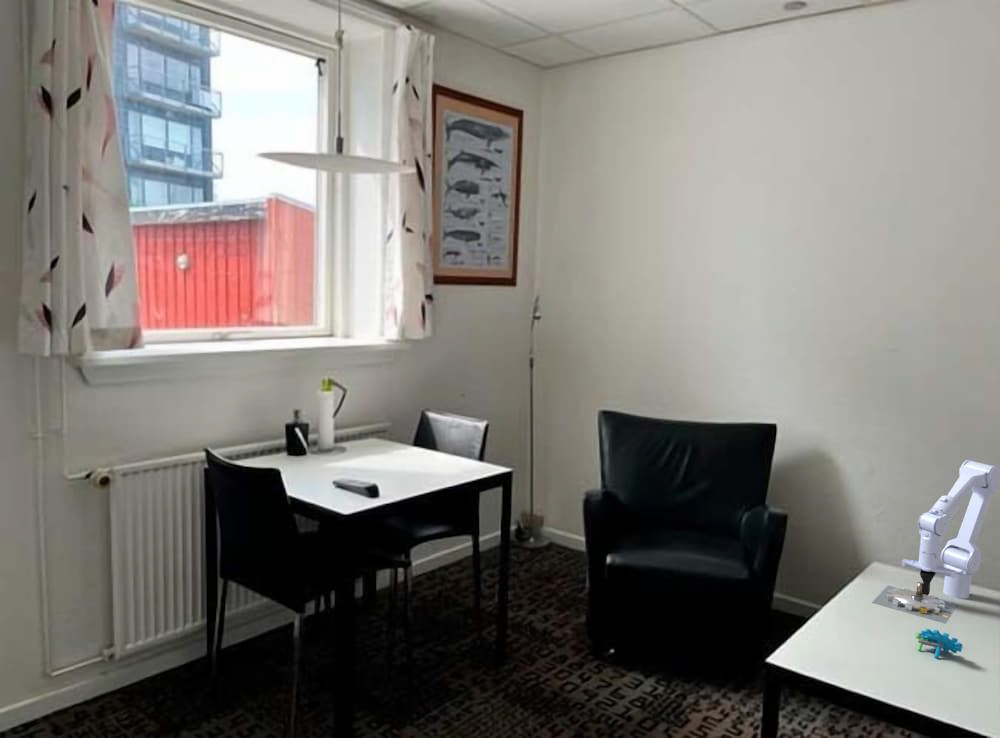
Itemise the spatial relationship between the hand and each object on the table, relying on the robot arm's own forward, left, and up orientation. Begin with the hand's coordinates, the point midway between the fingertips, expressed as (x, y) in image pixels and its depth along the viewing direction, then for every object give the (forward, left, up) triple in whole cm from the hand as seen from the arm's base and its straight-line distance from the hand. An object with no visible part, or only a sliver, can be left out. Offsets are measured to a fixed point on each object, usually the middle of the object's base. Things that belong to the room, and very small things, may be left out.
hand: (925, 593), depth 241 cm
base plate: (+5, -2, -3) cm, 6 cm away
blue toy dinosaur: (+37, +10, -3) cm, 38 cm away
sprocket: (+5, -2, -2) cm, 6 cm away
